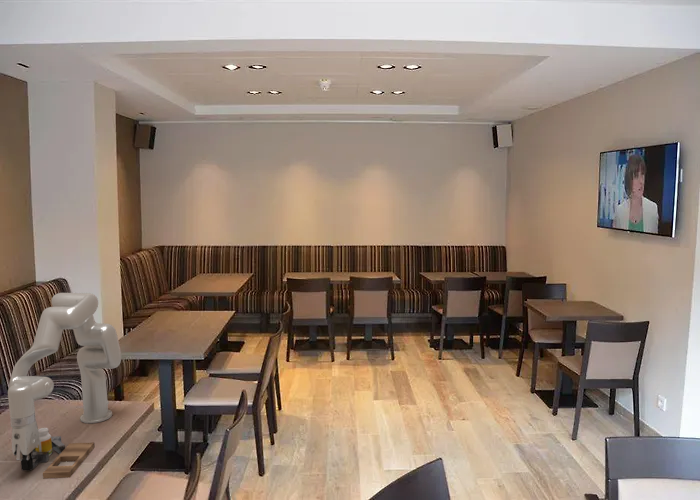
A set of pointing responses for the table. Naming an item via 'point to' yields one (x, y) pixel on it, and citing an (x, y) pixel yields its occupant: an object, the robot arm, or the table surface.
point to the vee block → (56, 444)
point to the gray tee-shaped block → (39, 458)
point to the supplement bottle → (44, 441)
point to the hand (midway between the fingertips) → (27, 469)
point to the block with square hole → (70, 453)
